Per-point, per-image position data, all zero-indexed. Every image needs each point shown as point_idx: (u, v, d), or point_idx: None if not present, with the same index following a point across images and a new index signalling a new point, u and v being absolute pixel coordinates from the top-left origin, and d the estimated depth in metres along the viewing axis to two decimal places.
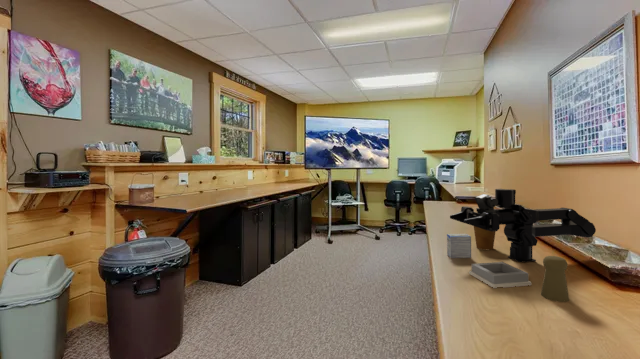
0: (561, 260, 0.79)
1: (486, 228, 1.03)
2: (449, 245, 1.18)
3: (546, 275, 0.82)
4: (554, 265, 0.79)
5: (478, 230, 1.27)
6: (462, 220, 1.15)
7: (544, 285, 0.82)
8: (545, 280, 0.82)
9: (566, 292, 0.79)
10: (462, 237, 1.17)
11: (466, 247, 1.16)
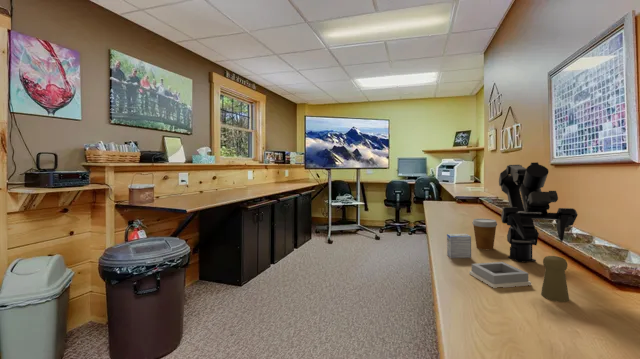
0: (561, 260, 0.79)
1: (565, 226, 0.92)
2: (449, 245, 1.18)
3: (546, 275, 0.82)
4: (554, 265, 0.79)
5: (478, 230, 1.27)
6: None
7: (544, 285, 0.82)
8: (545, 280, 0.82)
9: (566, 292, 0.79)
10: (462, 237, 1.17)
11: (466, 247, 1.16)
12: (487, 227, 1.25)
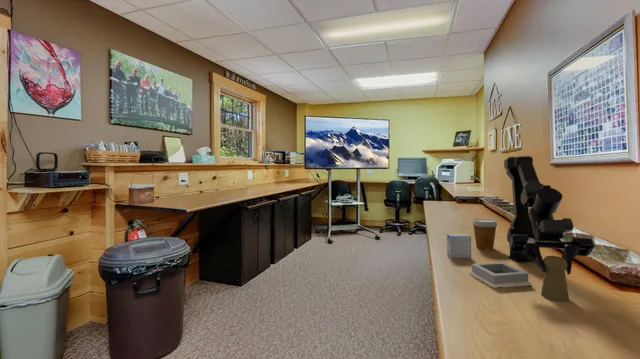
0: (561, 260, 0.79)
1: None
2: (449, 245, 1.18)
3: (546, 275, 0.82)
4: (554, 265, 0.79)
5: (478, 230, 1.27)
6: None
7: (544, 285, 0.82)
8: (545, 280, 0.82)
9: (566, 292, 0.79)
10: (462, 237, 1.17)
11: (466, 247, 1.16)
12: (487, 227, 1.25)
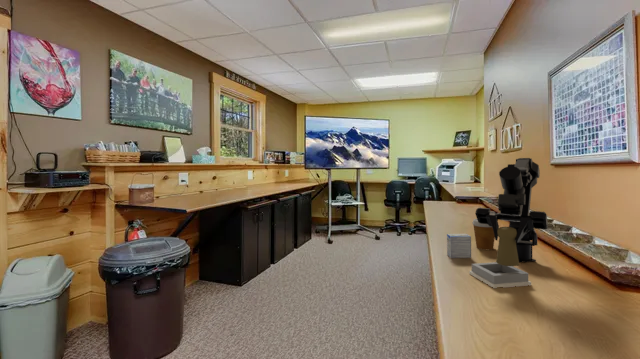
0: (509, 229, 0.90)
1: (530, 229, 0.92)
2: (449, 245, 1.18)
3: None
4: (502, 233, 0.90)
5: (478, 230, 1.27)
6: (498, 228, 0.96)
7: (497, 252, 0.93)
8: (498, 247, 0.93)
9: (513, 258, 0.89)
10: (462, 237, 1.17)
11: (466, 247, 1.16)
12: (487, 227, 1.25)
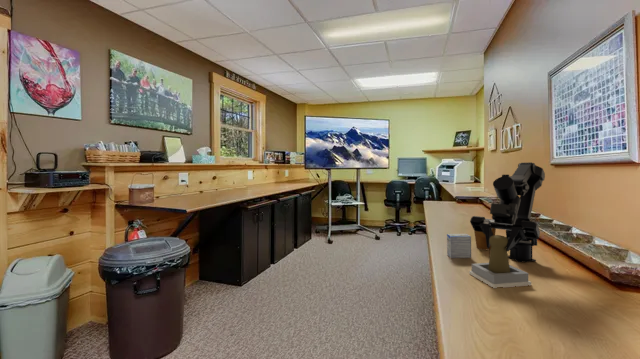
0: (499, 238, 0.93)
1: (522, 238, 0.94)
2: (449, 245, 1.18)
3: (490, 251, 0.96)
4: (493, 242, 0.93)
5: None
6: None
7: (489, 259, 0.96)
8: None
9: (504, 266, 0.92)
10: (462, 237, 1.17)
11: (466, 247, 1.16)
12: None
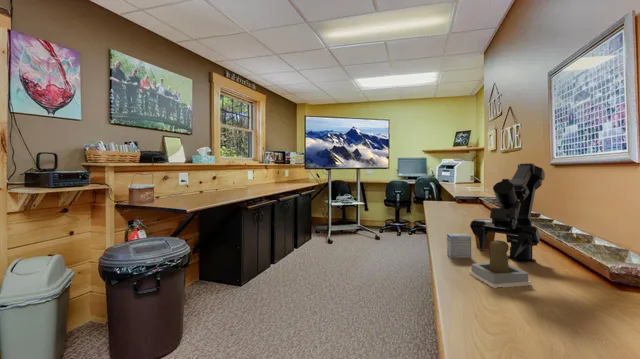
0: (500, 243, 0.93)
1: (530, 244, 0.92)
2: (449, 245, 1.18)
3: None
4: (493, 247, 0.94)
5: None
6: (485, 240, 1.00)
7: (489, 265, 0.96)
8: (490, 260, 0.96)
9: (504, 271, 0.92)
10: (462, 237, 1.17)
11: (466, 247, 1.16)
12: None
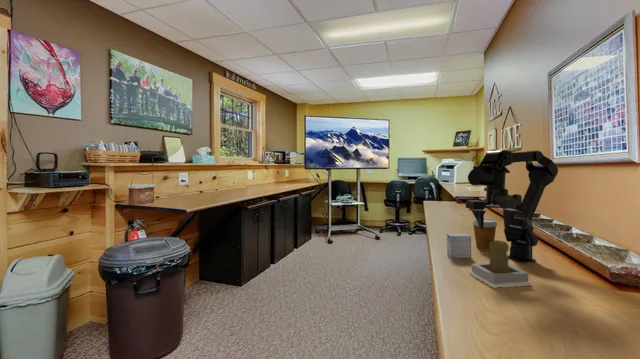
0: (500, 243, 0.93)
1: None
2: (449, 245, 1.18)
3: None
4: (493, 247, 0.94)
5: (478, 230, 1.27)
6: None
7: (489, 264, 0.96)
8: (490, 260, 0.96)
9: (504, 271, 0.92)
10: (462, 237, 1.17)
11: (466, 247, 1.16)
12: (487, 227, 1.25)
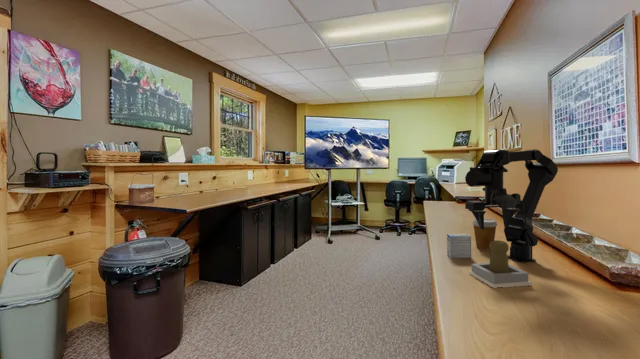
0: (500, 243, 0.93)
1: None
2: (449, 245, 1.18)
3: None
4: (493, 247, 0.94)
5: (478, 230, 1.27)
6: None
7: (489, 264, 0.96)
8: (490, 260, 0.96)
9: (504, 271, 0.92)
10: (462, 237, 1.17)
11: (466, 247, 1.16)
12: (487, 227, 1.25)
